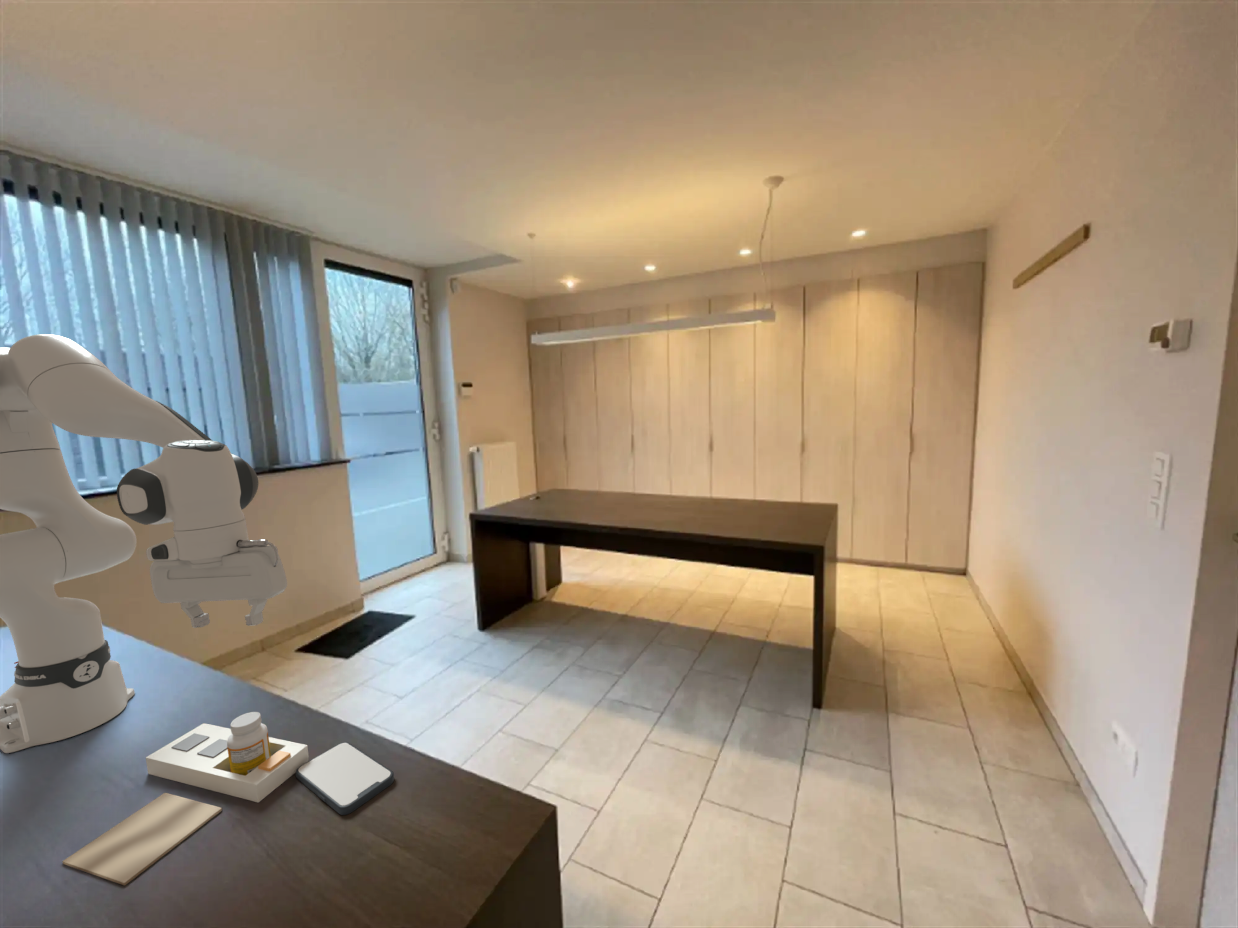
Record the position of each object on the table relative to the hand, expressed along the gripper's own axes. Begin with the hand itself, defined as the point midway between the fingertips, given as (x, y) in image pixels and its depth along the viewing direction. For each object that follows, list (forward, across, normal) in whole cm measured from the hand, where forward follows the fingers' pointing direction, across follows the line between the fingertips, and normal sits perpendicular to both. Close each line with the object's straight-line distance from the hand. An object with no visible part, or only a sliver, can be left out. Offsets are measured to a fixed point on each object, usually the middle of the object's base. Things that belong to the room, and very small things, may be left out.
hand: (228, 625), depth 79 cm
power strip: (+25, +5, 0) cm, 26 cm away
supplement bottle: (+26, 0, 0) cm, 26 cm away
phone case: (+27, -16, 0) cm, 32 cm away
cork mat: (+26, +5, +13) cm, 29 cm away
